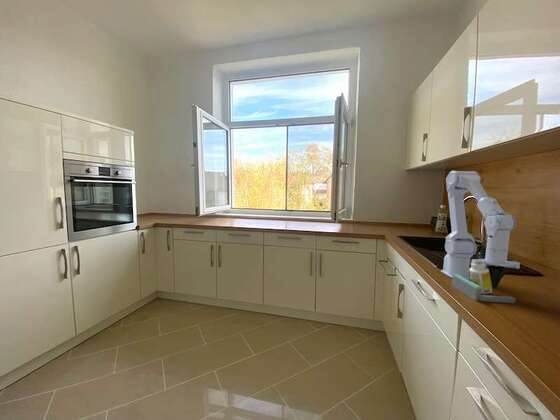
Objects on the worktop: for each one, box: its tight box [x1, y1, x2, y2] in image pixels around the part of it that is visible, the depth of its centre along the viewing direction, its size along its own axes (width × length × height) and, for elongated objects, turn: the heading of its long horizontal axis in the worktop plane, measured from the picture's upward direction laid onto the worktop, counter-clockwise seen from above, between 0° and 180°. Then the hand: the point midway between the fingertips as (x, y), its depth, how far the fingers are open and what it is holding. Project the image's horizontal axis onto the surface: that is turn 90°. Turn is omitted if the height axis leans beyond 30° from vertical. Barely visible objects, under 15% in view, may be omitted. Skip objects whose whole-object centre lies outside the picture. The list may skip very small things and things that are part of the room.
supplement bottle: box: [469, 262, 493, 295], centre depth 90 cm, size 6×6×10 cm
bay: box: [451, 274, 516, 304], centre depth 89 cm, size 13×12×5 cm
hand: (492, 286), depth 90 cm, fingers closed
